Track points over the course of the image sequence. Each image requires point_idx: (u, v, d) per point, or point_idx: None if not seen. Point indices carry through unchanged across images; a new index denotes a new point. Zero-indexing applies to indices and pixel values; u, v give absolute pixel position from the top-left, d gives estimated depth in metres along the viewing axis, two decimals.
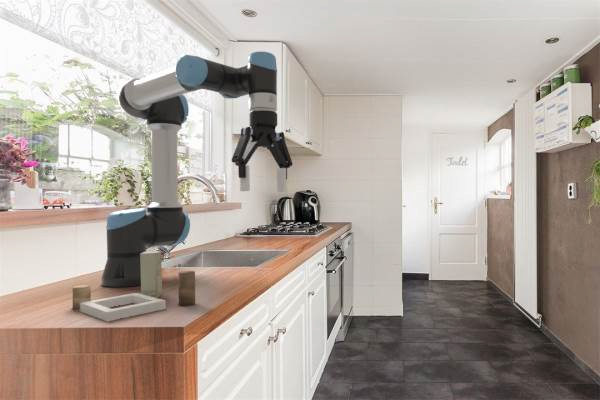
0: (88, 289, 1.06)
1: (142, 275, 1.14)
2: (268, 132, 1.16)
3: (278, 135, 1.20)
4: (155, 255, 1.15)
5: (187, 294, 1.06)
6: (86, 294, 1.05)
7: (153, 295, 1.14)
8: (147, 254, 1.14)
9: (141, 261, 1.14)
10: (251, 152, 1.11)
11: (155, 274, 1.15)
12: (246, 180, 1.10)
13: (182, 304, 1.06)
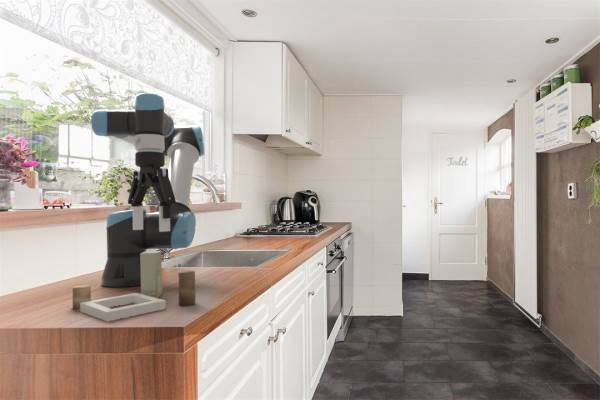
0: (88, 289, 1.06)
1: (142, 275, 1.14)
2: (147, 172, 1.16)
3: None
4: (155, 255, 1.15)
5: (187, 294, 1.06)
6: (86, 294, 1.05)
7: (153, 295, 1.14)
8: (147, 254, 1.14)
9: (141, 261, 1.14)
10: (135, 194, 1.20)
11: (155, 274, 1.15)
12: None
13: (182, 304, 1.06)
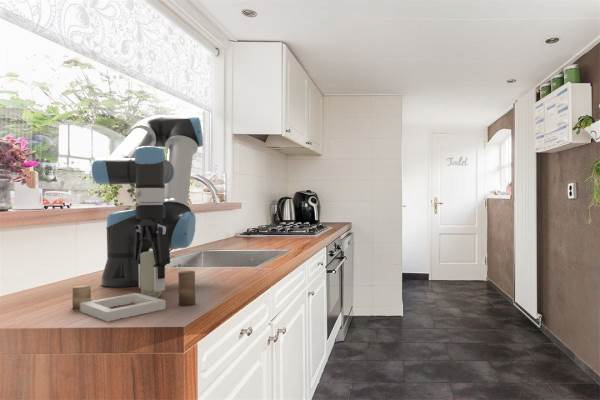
0: (88, 289, 1.06)
1: (142, 275, 1.14)
2: (148, 222, 1.16)
3: None
4: None
5: (187, 294, 1.06)
6: (86, 294, 1.05)
7: (153, 295, 1.14)
8: (147, 254, 1.14)
9: (141, 261, 1.14)
10: (139, 249, 1.19)
11: None
12: None
13: (182, 304, 1.06)
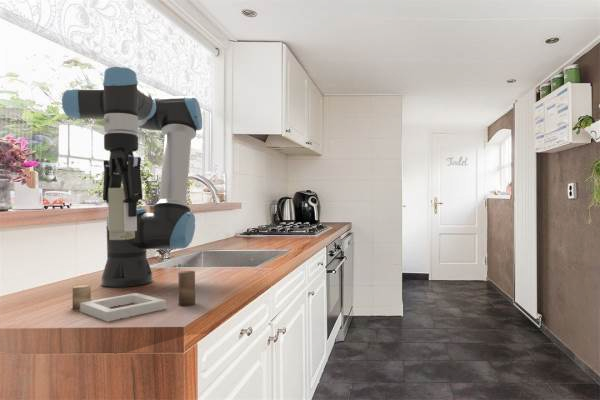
0: (88, 289, 1.06)
1: (110, 213, 1.00)
2: (118, 153, 1.02)
3: None
4: None
5: (187, 294, 1.06)
6: (86, 294, 1.05)
7: (123, 236, 1.00)
8: (116, 189, 1.00)
9: (109, 197, 1.00)
10: (109, 186, 1.05)
11: None
12: None
13: (182, 304, 1.06)
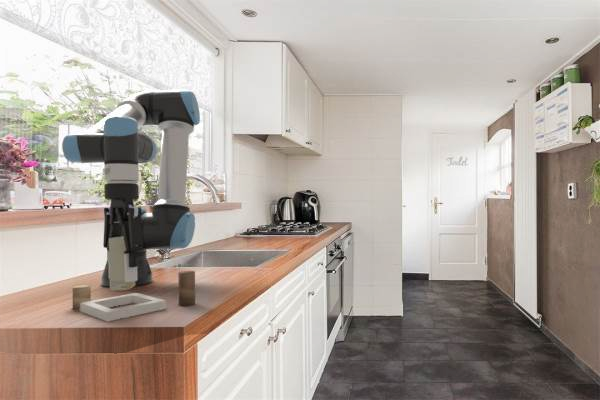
0: (88, 289, 1.06)
1: (111, 263, 1.00)
2: (119, 203, 1.02)
3: None
4: None
5: (187, 294, 1.06)
6: (86, 294, 1.05)
7: (123, 286, 1.00)
8: (117, 239, 1.00)
9: (110, 247, 1.00)
10: (110, 235, 1.05)
11: None
12: None
13: (182, 304, 1.06)
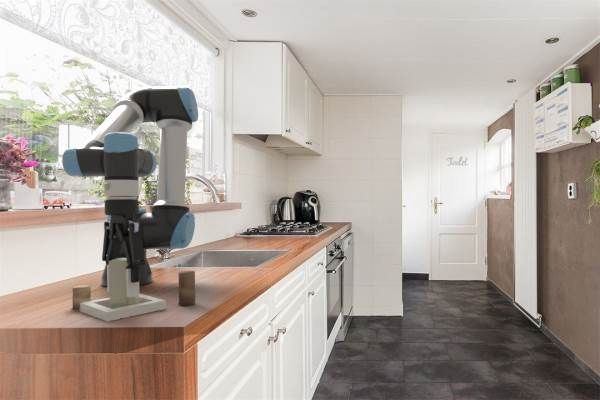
0: (88, 289, 1.06)
1: (111, 286, 1.00)
2: (119, 219, 1.02)
3: None
4: (126, 263, 1.01)
5: (187, 294, 1.06)
6: (86, 294, 1.05)
7: None
8: (116, 262, 1.00)
9: (110, 270, 1.00)
10: (109, 249, 1.05)
11: None
12: None
13: (182, 304, 1.06)
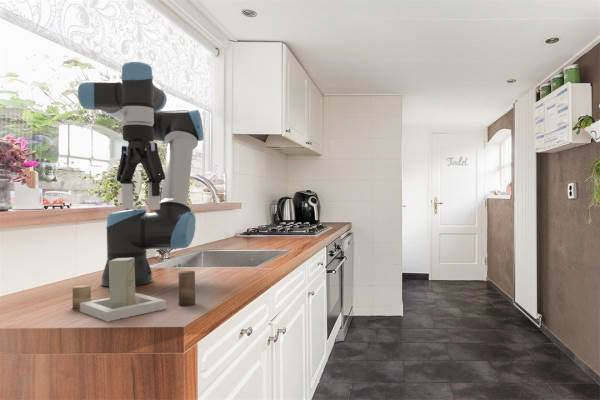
0: (88, 289, 1.06)
1: (111, 286, 1.00)
2: (136, 146, 1.09)
3: None
4: (126, 263, 1.01)
5: (187, 294, 1.06)
6: (86, 294, 1.05)
7: None
8: (116, 262, 1.00)
9: (110, 270, 1.00)
10: (124, 170, 1.13)
11: (126, 284, 1.00)
12: None
13: (182, 304, 1.06)
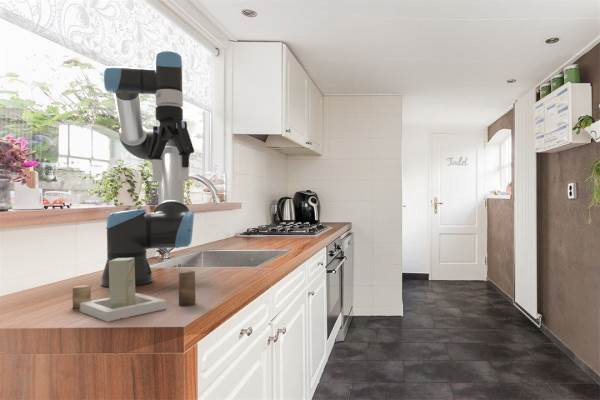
0: (88, 289, 1.06)
1: (111, 286, 1.00)
2: (167, 125, 1.24)
3: None
4: (126, 263, 1.01)
5: (187, 294, 1.06)
6: (86, 294, 1.05)
7: None
8: (116, 262, 1.00)
9: (110, 270, 1.00)
10: (155, 147, 1.28)
11: (126, 284, 1.00)
12: None
13: (182, 304, 1.06)
